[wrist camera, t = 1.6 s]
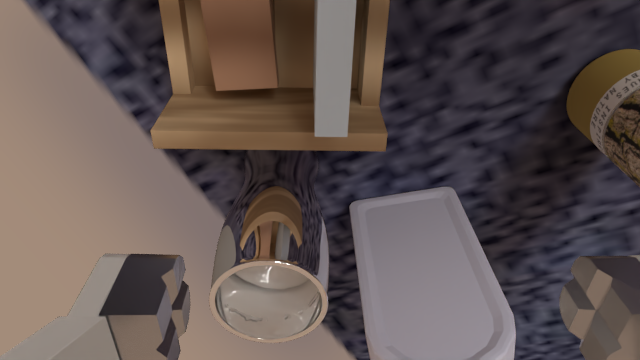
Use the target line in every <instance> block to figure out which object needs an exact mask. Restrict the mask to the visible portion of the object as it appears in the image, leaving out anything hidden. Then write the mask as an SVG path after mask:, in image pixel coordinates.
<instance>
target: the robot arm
mask: <svg viewBox="0 0 640 360" xmlns="http://www.w3.org/2000/svg"><path fill="white" fill-rule="evenodd" d="M571 272H572V274H573V276H574V279H572V280H571V281H570V282H568V283H567V284H566V285H564V287H563V290H562V292H561V295H560V312H561V315H562V319H563V321H564V323H565V325H566V326H567V328H568V330H569V331H570V332H572V333H573V334H574V335H576V336H577V337H579V338H580V339H581V344H580V351H581V352H582V354H583V356H584V357H585V359H586V360H640V255H632V256H580V257H579V258H578V259H577V260H575V261H574V264H573V266H572V268H571ZM184 273H185V265H184V260H183V257H182V256H180V255H157V254H156V255H155V254H105V255H103V256H102V257H101V258H100V259H99V260H98V262H97V263H96V265H95V267H94V269H93V271H92V272H91V274H90V276H89V278H88V280H87V281H86V283H85V285H84V287H83V288H82V290H81V292H80V294H79V296H78V297H77V299H76V301H75V303H74V305H73V306H72V308H71V310H70V312H69V314H68V315H67V317H57V318H56V319H55V320H53V321H52V322H50V323H49V324H47V325H46V326H44V327H43V328H41V329H40V330H39V331H37V332H36V333H34V334H33V335H31V336H30V337H28V338H27V339H25V340H24V341H22V342H21V343H20V344H18V345H17V346H15V347H14V348H12V349H11V350H9V351H8V352H6V353H5V354H3V355H2V356H0V360H178V357H179V354H180V345H179V340H178V338H179V337H180V336H181V335H182V334H183V333H185V332H186V328H187V324H188V320H189V312H190V292H189V286H188V285H187V284H186V283H185V282H184V281H183V276H184Z"/></svg>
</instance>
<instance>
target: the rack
mask: <svg viewBox="0 0 640 360" xmlns="http://www.w3.org/2000/svg"><path fill="white" fill-rule="evenodd" d="M274 4H275V41H276V51H277V62H278V72H279V84H278V88H266V89H246V90H225V91H216V87H215V82H214V76H213V70H212V65H211V59H210V53H209V48H208V42H207V36H206V31H205V25H204V19H203V14H202V8H201V2H200V0H159V6H160V12H161V19H162V25H163V32H164V38H165V44H166V51H167V57H168V64H169V70H170V76H171V83H172V89H173V95H172V97H171V98H170V100H169V102H168V103H167V105H166V106H165V108H164V110H163V111H162V113H161V115H160V116H159V118H158V119H157V121H156V123H155V124H154V126H153V127H152V129H151V136H152V141H153V146H154V148H158V149H240V150H323V151H386V143H387V134H388V133H387V130H386V127H385V124H384V121H383V117H382V114H381V111H380V108H379V101H380V91H381V81H382V72H383V62H384V53H385V43H386V33H387V24H388V14H389V5H390V0H356V15H355V30H354V45H353V60H352V75H351V90H350V105H349V120H348V135H347V137H315V131H314V95H313V53H314V0H274Z"/></svg>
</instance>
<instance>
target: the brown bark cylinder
mask: <svg viewBox="0 0 640 360" xmlns="http://www.w3.org/2000/svg"><path fill="white" fill-rule="evenodd" d="M567 113H568V116H569V118H570V120H571V122H572V123H573V125H574V126H575V127H576V128H577V129H579V130H580V131H581V132H582V133H583V134H584V135H585V136H586V137H587V138H588V139H589V140H590V141H591V142H592V143H594V144H595V145H596V147H597V148H598V149H599V150H600V151H602V152H603V153H604V154H605V155H606V156H607V157H608V158H609V159H610V160H611V161H612V162H613V163H614V164H616V165H617V166H618V167H619V168H620V169H621V170H622V171H623V172H624V173H625V174H626V175H627V176H628V177H629V178H631V179H632V180H633V181H634V182H635V183H636V184H637V185H638V186H639V187H640V50H636V49H623V50H617V51H613V52H610V53H608V54H605V55H603V56H601V57H599V58H597V59H596V60H594V61H593V62H591V63H590V64H589V65H587V66H586V67H585V68H584V69H583V70H582V71H581V72H580V73H579V75H578V76H577V77H576V79H575V80H574V82H573V84H572V86H571V88H570V90H569V93H568V97H567Z"/></svg>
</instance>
